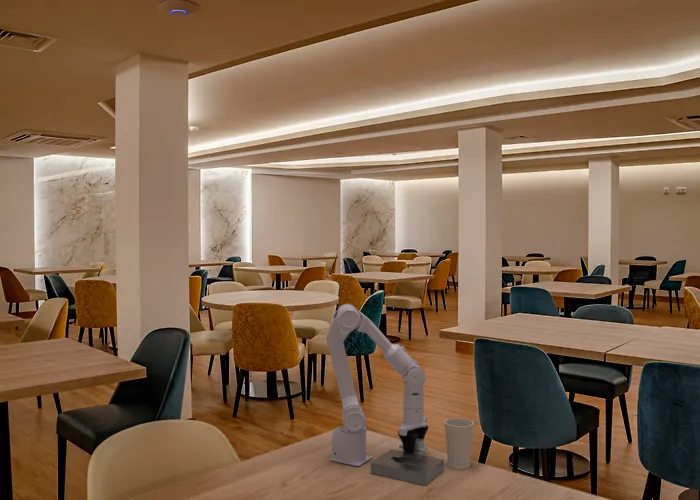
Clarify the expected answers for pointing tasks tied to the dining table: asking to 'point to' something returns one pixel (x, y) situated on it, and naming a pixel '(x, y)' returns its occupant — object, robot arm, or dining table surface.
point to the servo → (418, 447)
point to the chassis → (407, 467)
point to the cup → (458, 442)
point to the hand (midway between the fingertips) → (413, 453)
